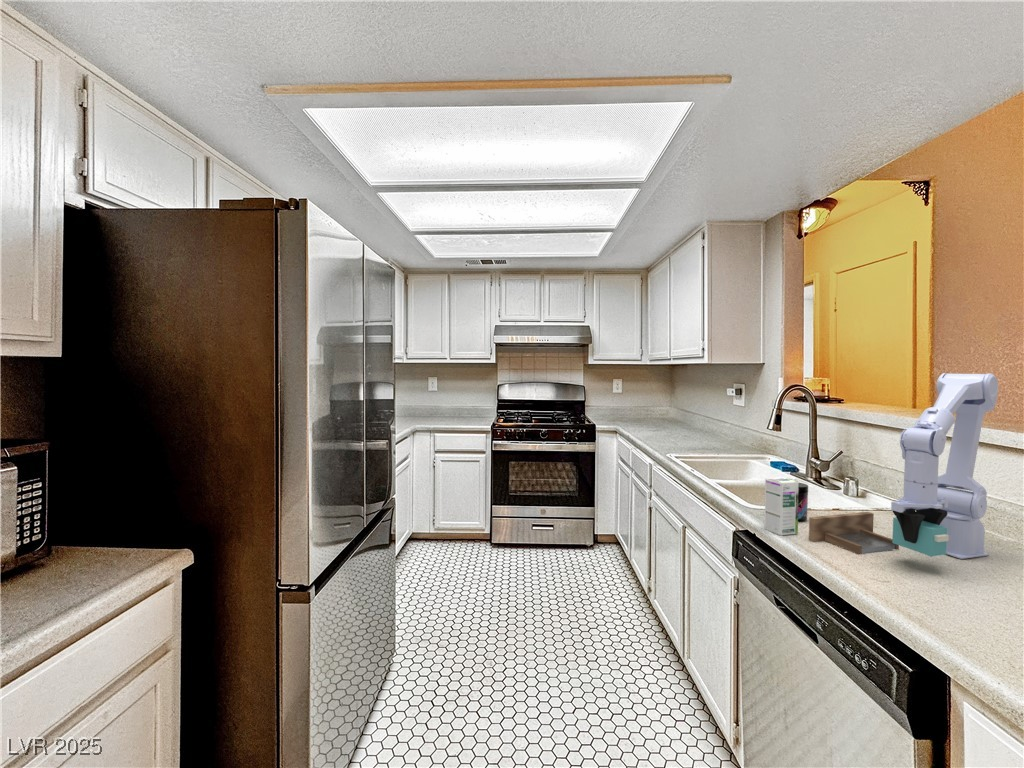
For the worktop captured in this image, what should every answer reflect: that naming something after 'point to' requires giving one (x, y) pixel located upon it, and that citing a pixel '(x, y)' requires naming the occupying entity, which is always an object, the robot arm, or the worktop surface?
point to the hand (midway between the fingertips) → (918, 540)
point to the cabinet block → (923, 538)
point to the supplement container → (802, 502)
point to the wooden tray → (843, 529)
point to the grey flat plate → (868, 542)
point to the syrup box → (781, 506)
